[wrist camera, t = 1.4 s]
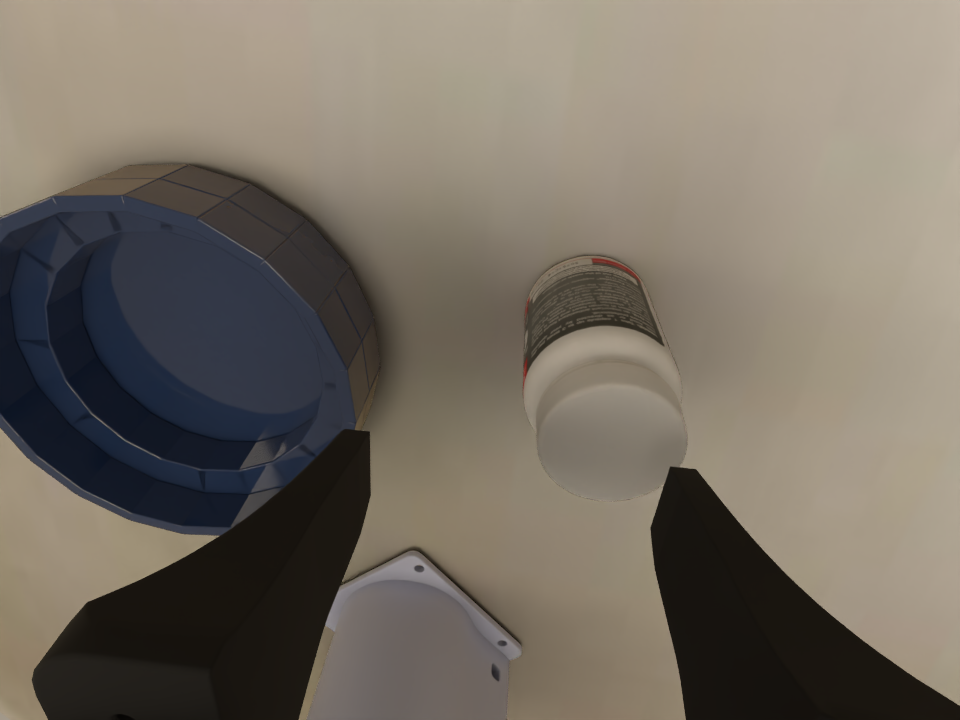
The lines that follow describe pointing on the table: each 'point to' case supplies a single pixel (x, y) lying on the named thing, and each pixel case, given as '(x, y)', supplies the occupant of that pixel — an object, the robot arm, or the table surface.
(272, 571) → the robot arm
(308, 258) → the blue round pet bowl
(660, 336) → the pill bottle
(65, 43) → the table surface
